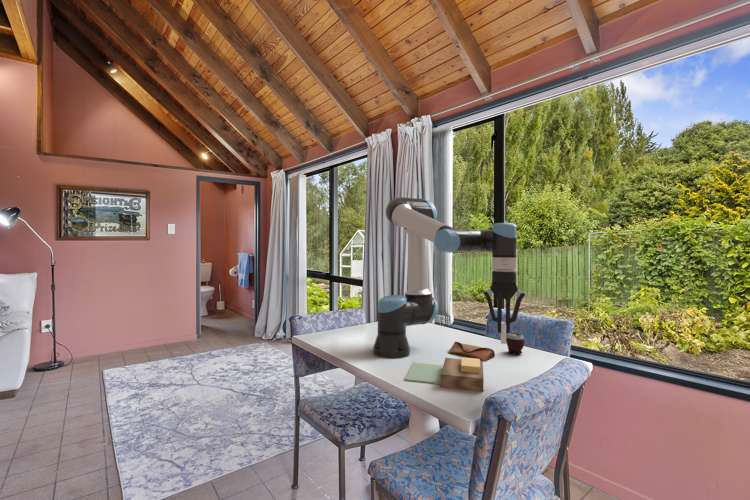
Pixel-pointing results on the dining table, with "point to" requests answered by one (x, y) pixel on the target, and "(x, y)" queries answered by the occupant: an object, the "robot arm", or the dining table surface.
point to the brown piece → (460, 376)
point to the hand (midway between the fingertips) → (503, 342)
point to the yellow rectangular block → (470, 365)
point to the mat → (425, 373)
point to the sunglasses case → (471, 351)
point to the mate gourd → (515, 341)
